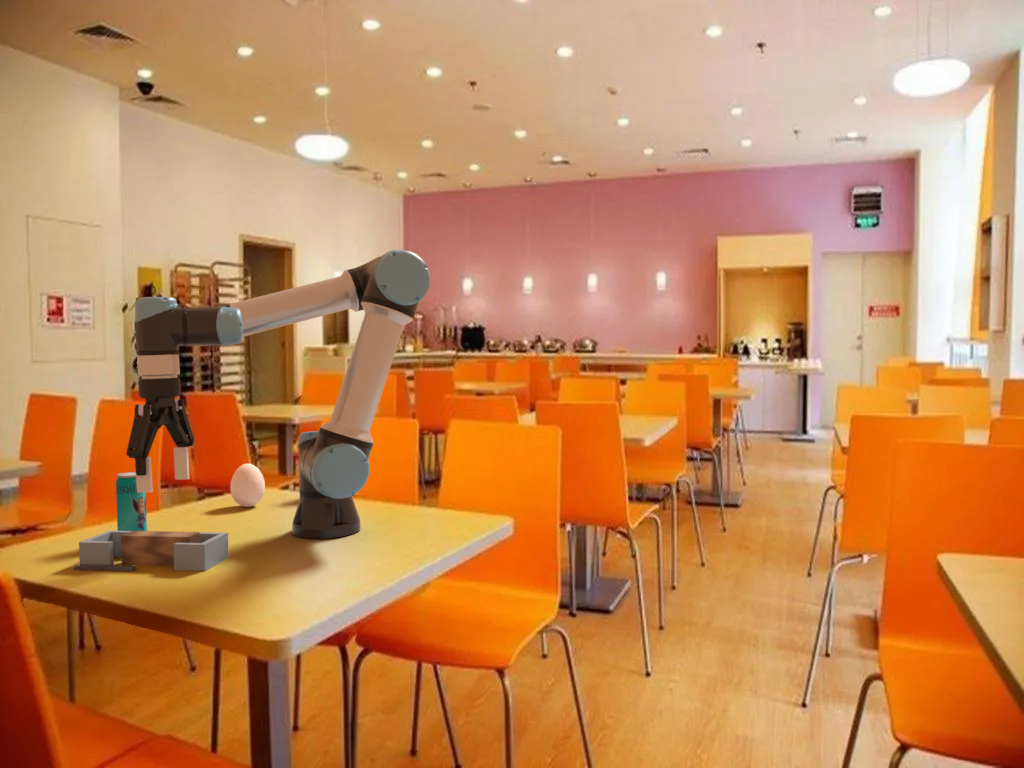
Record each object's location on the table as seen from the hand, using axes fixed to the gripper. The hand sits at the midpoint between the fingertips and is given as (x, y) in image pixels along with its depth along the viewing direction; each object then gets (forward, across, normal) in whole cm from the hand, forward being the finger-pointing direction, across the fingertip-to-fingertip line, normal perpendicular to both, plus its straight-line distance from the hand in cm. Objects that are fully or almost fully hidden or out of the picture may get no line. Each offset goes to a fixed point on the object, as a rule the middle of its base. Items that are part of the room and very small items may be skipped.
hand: (164, 485), depth 158 cm
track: (+15, 0, -9) cm, 18 cm away
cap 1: (+15, 0, -11) cm, 19 cm away
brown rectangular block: (+16, 0, -1) cm, 16 cm away
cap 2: (+15, 0, +7) cm, 17 cm away
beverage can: (+15, -15, -16) cm, 27 cm away
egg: (+16, -53, -7) cm, 56 cm away
